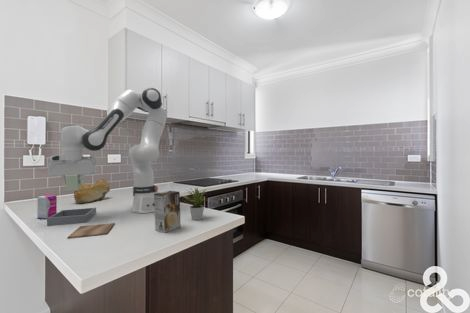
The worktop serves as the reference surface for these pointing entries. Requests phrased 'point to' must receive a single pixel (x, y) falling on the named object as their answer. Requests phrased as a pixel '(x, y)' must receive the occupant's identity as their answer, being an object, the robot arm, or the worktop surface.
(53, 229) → the worktop surface
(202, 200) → the house plant
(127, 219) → the worktop surface
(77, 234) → the walnut pad
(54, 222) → the frame
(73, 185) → the sage block
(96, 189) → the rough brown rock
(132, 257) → the worktop surface
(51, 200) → the supplement box
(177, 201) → the coffee box
